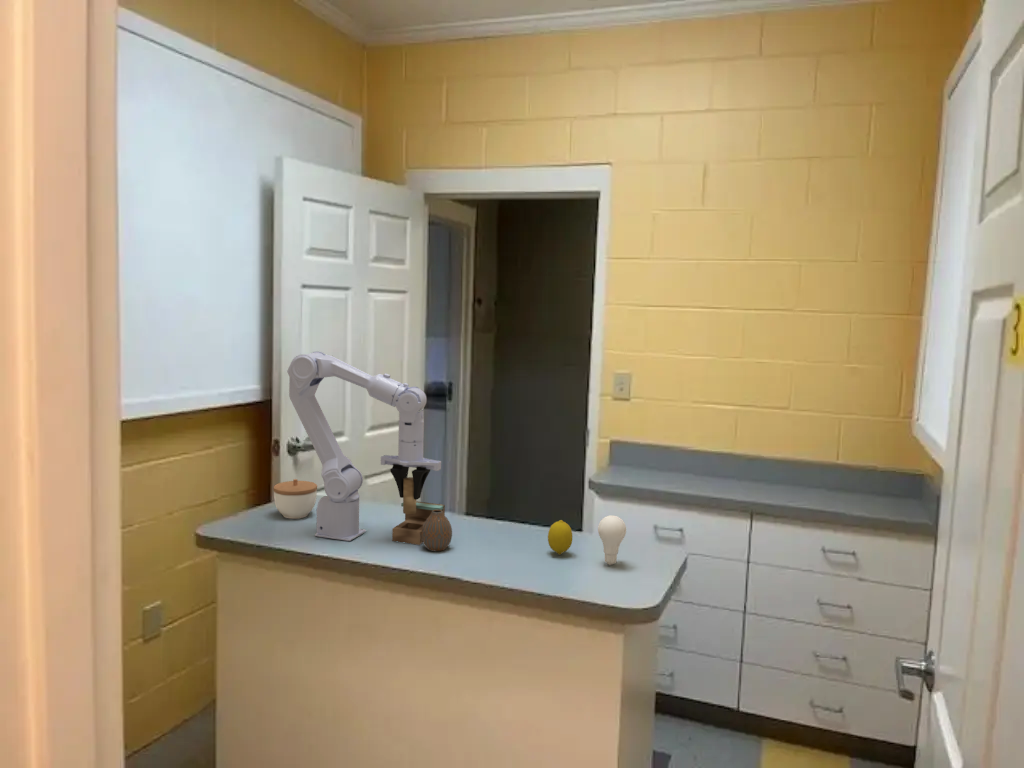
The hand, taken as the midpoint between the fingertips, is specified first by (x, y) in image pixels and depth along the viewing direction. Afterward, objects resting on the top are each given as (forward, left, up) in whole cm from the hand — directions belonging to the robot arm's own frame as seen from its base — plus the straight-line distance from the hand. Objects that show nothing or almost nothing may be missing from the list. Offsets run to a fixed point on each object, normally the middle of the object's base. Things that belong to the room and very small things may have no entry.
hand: (410, 497), depth 180 cm
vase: (+8, -3, -10) cm, 13 cm away
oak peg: (0, 0, -3) cm, 4 cm away
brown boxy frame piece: (0, +3, -10) cm, 11 cm away
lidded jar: (-35, +6, -10) cm, 37 cm away
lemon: (+35, +4, -10) cm, 37 cm away
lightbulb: (+47, +2, -10) cm, 48 cm away
